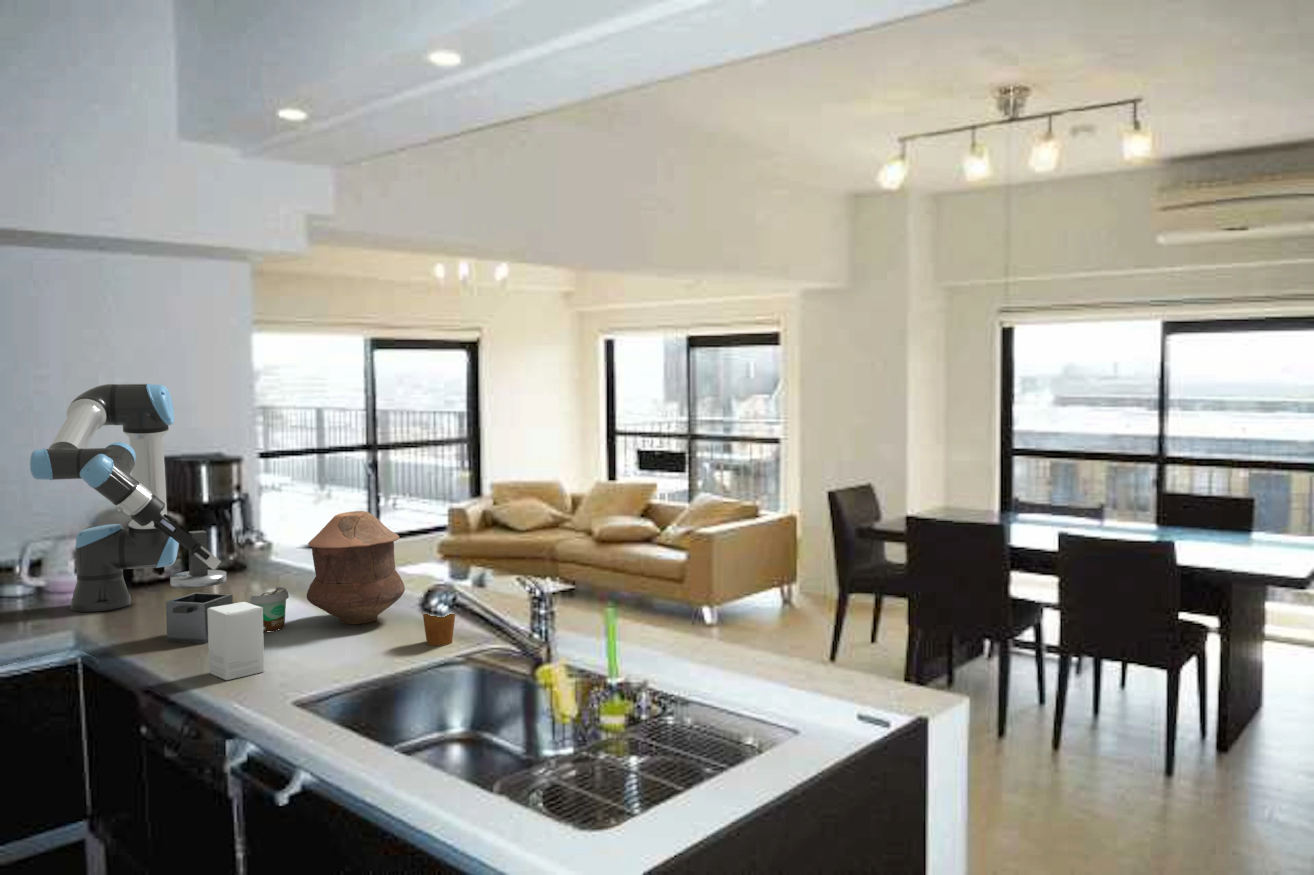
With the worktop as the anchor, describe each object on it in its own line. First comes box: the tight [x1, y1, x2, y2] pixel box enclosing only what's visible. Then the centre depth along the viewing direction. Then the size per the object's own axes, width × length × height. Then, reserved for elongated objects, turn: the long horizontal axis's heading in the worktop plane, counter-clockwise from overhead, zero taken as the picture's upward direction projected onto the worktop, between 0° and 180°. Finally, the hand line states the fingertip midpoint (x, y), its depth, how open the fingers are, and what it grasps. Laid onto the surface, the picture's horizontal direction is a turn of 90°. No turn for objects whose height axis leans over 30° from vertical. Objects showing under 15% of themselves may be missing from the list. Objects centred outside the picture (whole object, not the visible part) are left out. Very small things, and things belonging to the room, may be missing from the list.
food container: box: [249, 586, 290, 633], centre depth 256 cm, size 12×6×10 cm, turn 168°
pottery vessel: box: [306, 510, 406, 625], centre depth 264 cm, size 26×26×30 cm
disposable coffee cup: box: [419, 593, 456, 647], centre depth 243 cm, size 10×10×12 cm
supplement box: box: [207, 601, 265, 681], centre depth 218 cm, size 9×9×15 cm
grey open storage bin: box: [165, 592, 234, 645], centre depth 248 cm, size 15×11×10 cm
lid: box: [169, 530, 228, 589], centre depth 247 cm, size 13×13×13 cm
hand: (214, 564), depth 250 cm, fingers closed on lid, 4 cm apart
